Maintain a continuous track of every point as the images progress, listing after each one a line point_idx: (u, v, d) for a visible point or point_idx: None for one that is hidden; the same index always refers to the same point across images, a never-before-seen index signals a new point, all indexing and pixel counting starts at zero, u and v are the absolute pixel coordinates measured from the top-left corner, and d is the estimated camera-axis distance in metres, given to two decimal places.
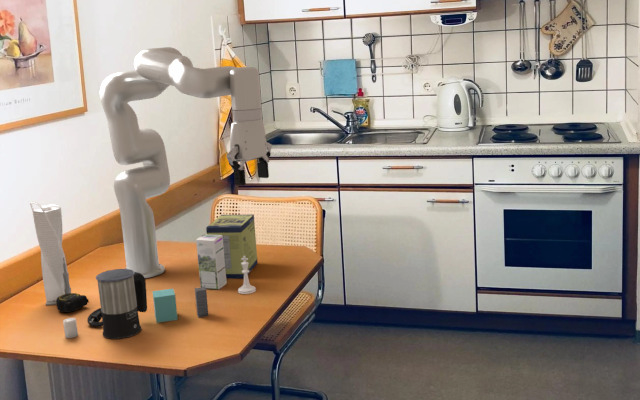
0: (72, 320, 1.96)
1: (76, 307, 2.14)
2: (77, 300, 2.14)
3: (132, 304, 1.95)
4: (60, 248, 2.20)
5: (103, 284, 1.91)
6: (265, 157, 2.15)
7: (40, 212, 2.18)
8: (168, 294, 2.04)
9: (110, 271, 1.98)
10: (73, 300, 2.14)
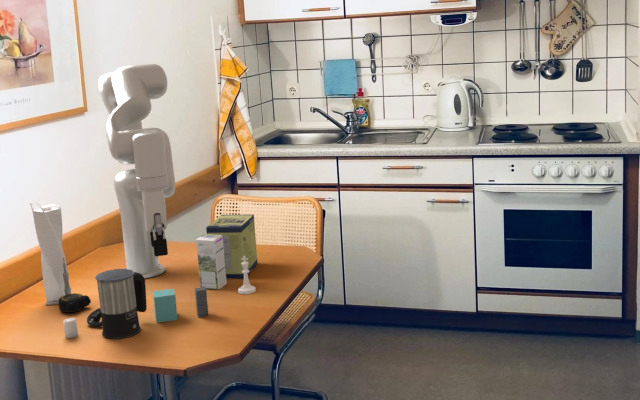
0: (72, 320, 1.96)
1: (78, 307, 2.14)
2: (79, 300, 2.14)
3: (132, 304, 1.95)
4: (60, 248, 2.20)
5: (102, 284, 1.91)
6: None
7: (40, 212, 2.18)
8: (168, 294, 2.04)
9: (110, 271, 1.98)
10: (76, 300, 2.13)
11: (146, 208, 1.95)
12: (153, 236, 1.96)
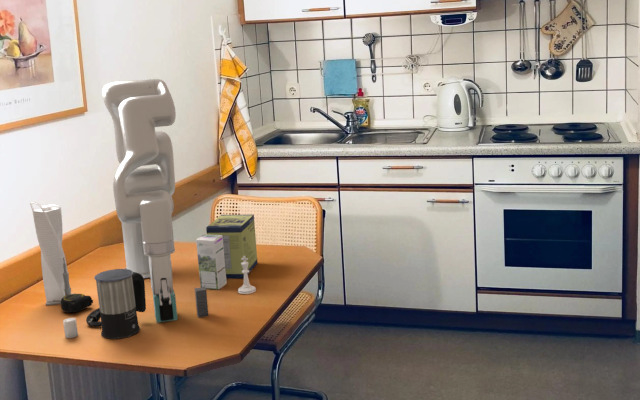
0: (72, 320, 1.96)
1: (81, 307, 2.14)
2: (81, 300, 2.14)
3: (131, 304, 1.95)
4: (60, 248, 2.20)
5: (101, 284, 1.91)
6: None
7: (40, 212, 2.18)
8: None
9: (109, 271, 1.98)
10: (78, 300, 2.13)
11: (153, 273, 1.98)
12: None
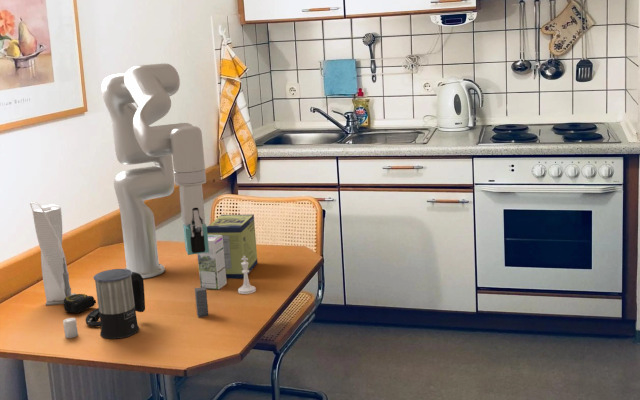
0: (72, 320, 1.96)
1: (83, 308, 2.13)
2: (84, 301, 2.13)
3: (130, 304, 1.95)
4: (60, 248, 2.20)
5: (100, 284, 1.92)
6: None
7: (40, 212, 2.18)
8: None
9: (108, 271, 1.98)
10: (81, 301, 2.13)
11: (185, 203, 1.95)
12: (191, 232, 1.99)
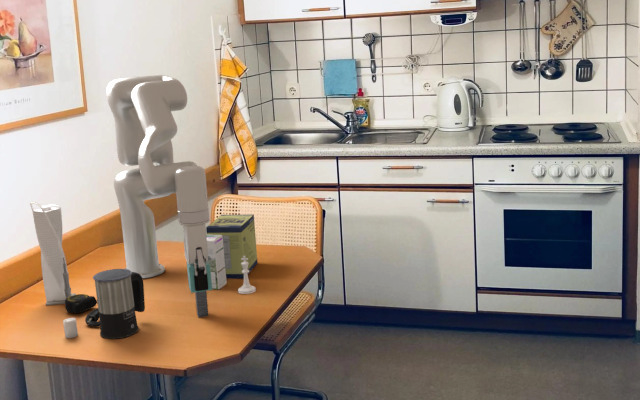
0: (72, 320, 1.96)
1: (85, 308, 2.13)
2: (85, 301, 2.13)
3: (129, 304, 1.95)
4: (60, 248, 2.20)
5: (100, 284, 1.92)
6: None
7: (40, 212, 2.18)
8: None
9: (107, 271, 1.98)
10: (82, 301, 2.13)
11: (188, 242, 1.97)
12: (194, 270, 2.01)
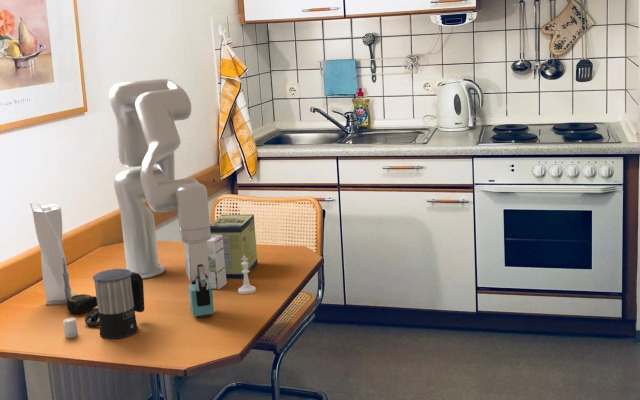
0: (72, 320, 1.96)
1: (86, 308, 2.13)
2: (87, 301, 2.13)
3: (129, 304, 1.95)
4: (60, 248, 2.20)
5: (99, 284, 1.92)
6: None
7: (40, 212, 2.18)
8: None
9: (107, 271, 1.98)
10: (84, 301, 2.12)
11: (190, 260, 1.98)
12: None
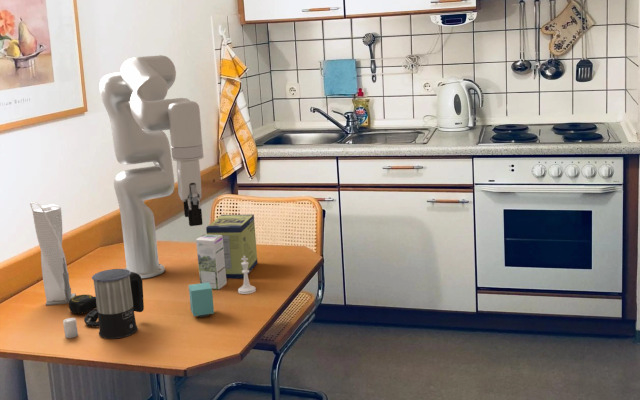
0: (72, 320, 1.96)
1: (89, 308, 2.13)
2: (89, 301, 2.13)
3: (128, 304, 1.95)
4: (60, 248, 2.20)
5: (99, 284, 1.92)
6: None
7: (40, 212, 2.18)
8: (204, 287, 2.04)
9: (106, 271, 1.98)
10: (86, 301, 2.12)
11: (182, 178, 1.95)
12: (188, 206, 1.96)
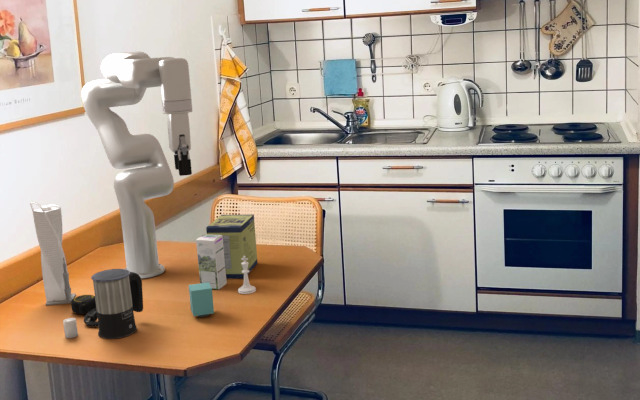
0: (72, 320, 1.96)
1: (91, 309, 2.12)
2: (92, 302, 2.12)
3: (127, 304, 1.95)
4: (60, 248, 2.20)
5: (98, 284, 1.92)
6: None
7: (40, 212, 2.18)
8: (204, 287, 2.04)
9: (106, 271, 1.98)
10: (88, 301, 2.12)
11: (172, 129, 2.07)
12: (178, 156, 2.09)
